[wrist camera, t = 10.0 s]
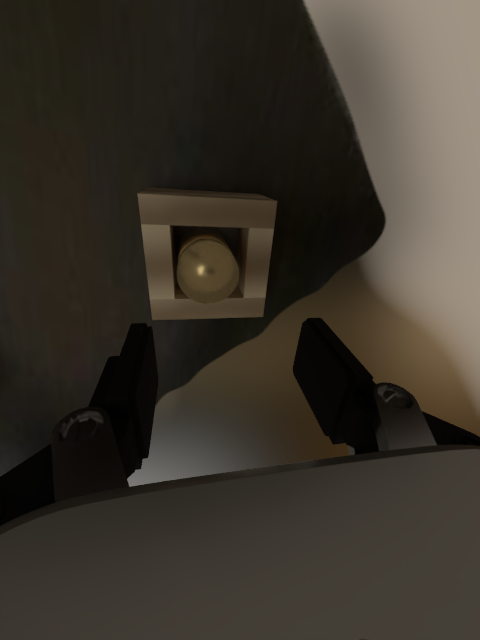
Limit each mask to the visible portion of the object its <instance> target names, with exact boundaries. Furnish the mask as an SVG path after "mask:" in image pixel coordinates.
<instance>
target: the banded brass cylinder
mask: <svg viewBox="0 0 480 640" xmlns="http://www.w3.org/2000/svg"><path fill="white" fill-rule="evenodd" d="M238 280H239V268H238V264H237V262H236V260H235V258H234V256H233V254H232V253H231V251H230V249H229V247H228V245H227V244H226V242H225V240H224V238H223V236H222V235H221V233H220V232H219V231H218V230H217V229H215V228H214V227H206V226H192V227H190V228H189V229H188V230H187V231H186V232H185V233H184V234H183V236H182V238H181V241H180V248H179V257H178V265H177V281H178V284H179V286H180V288H181V290H182V291H183V292H184V294H185V295H186V296H188V297H189V298H190V299H192V300H194V301H196V302H199V303H205V304H211V303H217V302H220V301H222V300H224V299H225V298H227V297H228V296H229V295H230V294H231V293H232V292H233V291H234V289H235V288H236V286H237V283H238Z"/></svg>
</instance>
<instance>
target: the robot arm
mask: <svg viewBox="0 0 480 640" xmlns="http://www.w3.org/2000/svg"><path fill="white" fill-rule="evenodd" d="M293 373H294V376H295V378H296V380H297V382H298V384H299V386H300V388H301V390H302V391H303V393H304V395H305V397H306V399H307V401H308V403H309V405H310V407H311V409H312V411H313V413H314V415H315V417H316V419H317V421H318V423H319V425H320V427H321V429H322V431H323V432H324V434H325V435H326V436H329V438H330V440H331V442H332V444H341V443H346V444H347V445H349V453H350V456H342V457H335V458H327V459H320V460H312V461H306V462H299V463H291V464H284V465H276V466H269V467H262V468H255V469H247V470H240V471H233V472H226V473H219V474H213V475H206V476H198V477H191V478H184V479H177V480H170V481H163V482H157V483H151V484H144V485H138V486H132V487H129V484H128V481H127V478H128V477H129V476H130V475H131V474H132V473H134V472H135V470H136V469H141V465H142V459H144V458H148V455H149V447H150V440H151V433H152V426H153V418H154V411H155V403H156V396H157V388H158V372H157V364H156V356H155V347H154V339H153V331H152V327H147V324H146V323H135V324H131V326H130V328H129V331H128V334H127V337H126V340H125V342H124V345H123V348H122V351H121V354H120V356H111V357H109V358H108V360H107V363H106V365H105V367H104V370H103V372H102V375H101V377H100V380H99V382H98V384H97V387H96V389H95V392H94V394H93V396H92V399H91V401H90V404H89V406H88V407H85V408H81V409H78V410H76V411H73V412H71V413H69V414H68V415H66V416H65V417H64V418H62V419H61V420H60V421H59V422H58V423H57V424H56V426H55V428H54V429H53V431H52V435H51V444H50V445H48V446H47V447H45V448H44V449H42V450H41V451H39V452H38V453H36V454H35V455H33V456H32V457H30V458H28V459H27V460H25V461H24V462H22V463H21V464H19V465H18V466H16V467H15V468H13V469H12V470H10V471H9V472H7V473H6V474H4V475H2V476H1V477H0V640H480V437H479V436H477V435H475V434H473V433H471V432H469V431H466V430H464V429H462V428H459V427H457V426H455V425H453V424H450V423H448V422H446V421H443V420H441V419H439V418H436V417H434V416H432V415H430V414H427V413H425V412H423V411H421V409H420V407H419V404H418V402H417V400H416V399H415V397H414V396H413V395H412V394H411V393H410V392H408V391H407V390H405V389H404V388H402V387H400V386H398V385H395V384H392V383H386V382H382V383H378V384H375V383H374V382H373V380H372V379H373V377H372V375H371V374H370V373H369V372H368V371H367V370H366V369H365V367H364V366H363V365H362V364H361V363H360V362H359V361H358V359H356V357H355V356H354V355H353V354H352V353H351V352H350V350H349V349H348V348H347V347H346V346H345V345H344V344H343V343H342V341H341V340H340V339H339V338H338V337H337V336H336V334H335V333H334V332H333V331H332V330H331V329H330V328H329V326H328V325H327V324H326V323H325V322H324V321H323V320H322V319H321V318H308V319H307V320H306V321H304V322H303V323H302V327H301V332H300V337H299V341H298V346H297V351H296V356H295V361H294V365H293Z"/></svg>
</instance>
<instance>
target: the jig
mask: <svg viewBox="0 0 480 640" xmlns="http://www.w3.org/2000/svg"><path fill="white" fill-rule="evenodd" d="M138 202H139V211H140V219H141V228H142V236H143V245H144V253H145V261H146V270H147V278H148V287H149V295H150V303H151V312H152V320H172V319H206V318H240V317H263V313H264V304H265V296H266V288H267V280H268V272H269V264H270V256H271V248H272V240H273V232H274V224H275V216H276V208H277V201H275V200H273V199H270V198H268V197H265V196H263V195H260V194H249V193H232V192H215V191H198V190H181V189H164V188H147V189H145V190H143V191H141V192H140V193H138ZM192 226H206V227H214V228H215V229H217V230H218V231H219V232H220V233H221V235H222V236H223V238H224V240H225V242H226V244H227V245H228V247H229V249H230V251H231V253H232V254H233V256H234V258H235V260H236V262H237V264H238V268H239V280H238V283H237V286H236V288H235V289H234V291H233V292H232V293H231V294H230V295H229V296H228V297H227V298H225V299H224V300H222V301H220V302H217V303H211V304H205V303H199V302H196V301H194V300H192V299H190V298H189V297H188V296H186V295H185V294H184V292H183V291H182V290H181V288H180V286H179V284H178V281H177V265H178V257H179V248H180V241H181V238H182V236H183V234H184V233H185V232H186V231H187V230H188V229H189V228H190V227H192Z"/></svg>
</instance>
